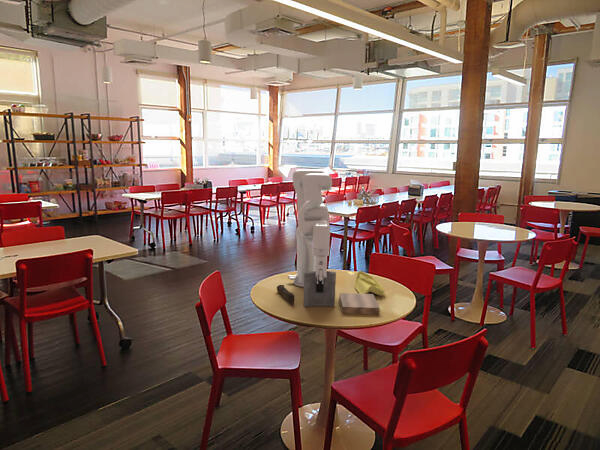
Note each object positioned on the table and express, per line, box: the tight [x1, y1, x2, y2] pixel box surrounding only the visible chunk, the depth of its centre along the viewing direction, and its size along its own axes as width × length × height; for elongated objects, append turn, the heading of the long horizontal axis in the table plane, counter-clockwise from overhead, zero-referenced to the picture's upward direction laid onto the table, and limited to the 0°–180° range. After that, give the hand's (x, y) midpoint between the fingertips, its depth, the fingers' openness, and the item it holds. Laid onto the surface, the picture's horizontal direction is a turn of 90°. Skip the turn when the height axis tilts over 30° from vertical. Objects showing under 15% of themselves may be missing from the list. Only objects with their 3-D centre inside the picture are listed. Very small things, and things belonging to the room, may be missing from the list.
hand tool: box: [276, 284, 295, 306], centre depth 195 cm, size 19×4×5 cm, turn 19°
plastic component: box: [354, 270, 385, 296], centre depth 210 cm, size 20×7×10 cm
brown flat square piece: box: [338, 292, 380, 315], centre depth 187 cm, size 16×17×3 cm
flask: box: [303, 270, 337, 308], centre depth 186 cm, size 4×14×18 cm, turn 96°
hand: (319, 290), depth 186 cm, fingers closed on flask, 3 cm apart
